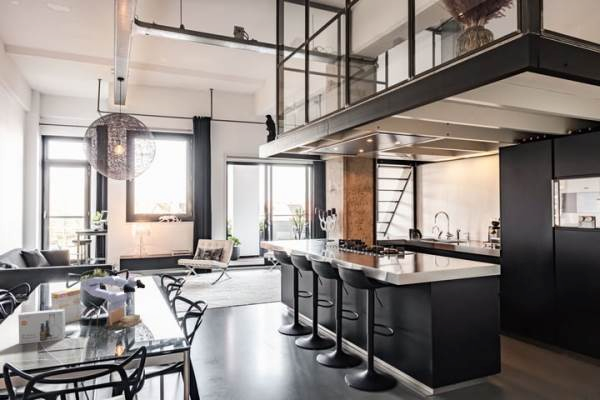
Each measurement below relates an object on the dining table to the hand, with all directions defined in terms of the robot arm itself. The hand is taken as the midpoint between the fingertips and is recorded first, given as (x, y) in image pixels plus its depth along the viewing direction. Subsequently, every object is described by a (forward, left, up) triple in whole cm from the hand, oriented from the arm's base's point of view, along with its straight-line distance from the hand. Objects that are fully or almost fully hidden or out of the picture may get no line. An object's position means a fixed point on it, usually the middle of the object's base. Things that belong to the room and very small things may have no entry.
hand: (139, 288), depth 257 cm
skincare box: (-25, -47, -20) cm, 56 cm away
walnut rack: (-2, -12, -20) cm, 23 cm away
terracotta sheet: (-7, -12, -19) cm, 23 cm away
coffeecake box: (-45, -15, -20) cm, 51 cm away
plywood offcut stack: (+3, -12, -19) cm, 22 cm away
